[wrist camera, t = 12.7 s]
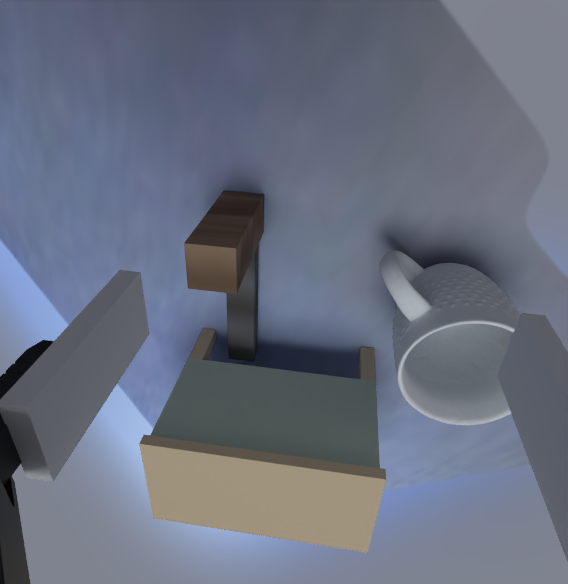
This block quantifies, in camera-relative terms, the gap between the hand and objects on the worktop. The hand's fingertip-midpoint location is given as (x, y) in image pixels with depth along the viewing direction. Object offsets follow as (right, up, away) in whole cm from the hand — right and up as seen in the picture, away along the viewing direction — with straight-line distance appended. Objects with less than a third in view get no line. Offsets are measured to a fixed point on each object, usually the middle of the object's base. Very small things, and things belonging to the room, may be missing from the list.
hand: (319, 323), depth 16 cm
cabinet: (-1, -8, +39) cm, 40 cm away
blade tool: (-6, +3, +33) cm, 34 cm away
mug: (+14, +2, +31) cm, 34 cm away
